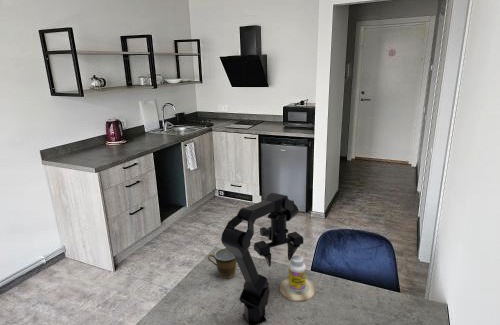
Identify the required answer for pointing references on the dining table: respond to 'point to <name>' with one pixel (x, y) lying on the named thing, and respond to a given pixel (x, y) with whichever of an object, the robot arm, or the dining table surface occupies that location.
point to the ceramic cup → (225, 263)
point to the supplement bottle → (297, 274)
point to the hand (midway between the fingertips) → (279, 262)
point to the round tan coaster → (297, 296)
